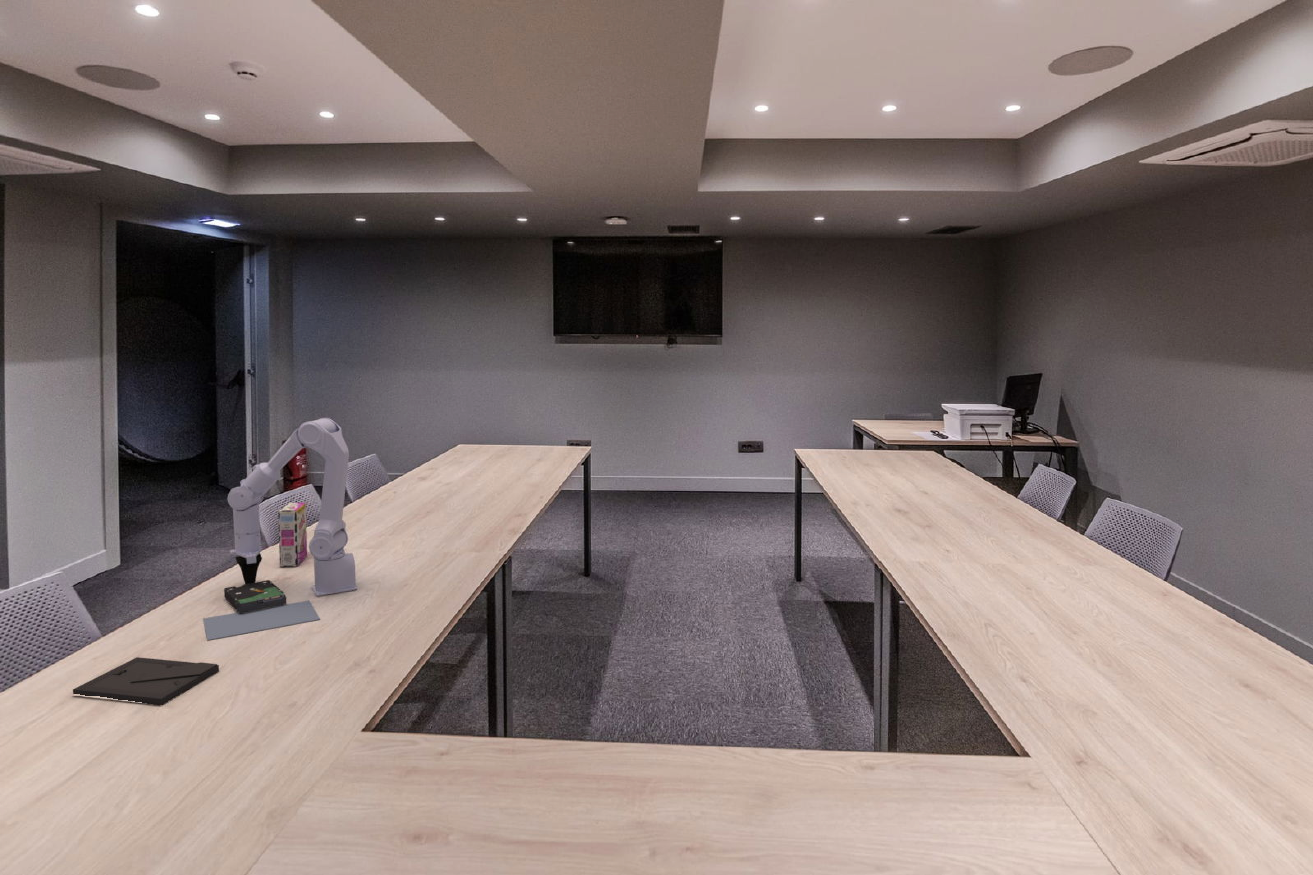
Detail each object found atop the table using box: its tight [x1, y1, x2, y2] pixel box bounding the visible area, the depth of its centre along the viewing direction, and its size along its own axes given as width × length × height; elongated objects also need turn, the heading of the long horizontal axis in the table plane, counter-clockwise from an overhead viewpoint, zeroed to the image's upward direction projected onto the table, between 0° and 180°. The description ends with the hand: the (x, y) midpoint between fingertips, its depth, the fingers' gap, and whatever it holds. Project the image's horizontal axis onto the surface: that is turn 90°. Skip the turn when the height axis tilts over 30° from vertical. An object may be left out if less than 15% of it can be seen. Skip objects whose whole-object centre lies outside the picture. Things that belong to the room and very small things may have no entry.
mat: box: [203, 600, 321, 642], centre depth 161 cm, size 22×14×1 cm, turn 125°
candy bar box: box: [277, 502, 308, 568], centre depth 203 cm, size 11×5×16 cm, turn 13°
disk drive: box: [223, 579, 287, 613], centre depth 172 cm, size 10×3×15 cm
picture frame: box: [72, 656, 220, 706], centre depth 131 cm, size 13×2×18 cm
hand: (249, 583), depth 181 cm, fingers closed
